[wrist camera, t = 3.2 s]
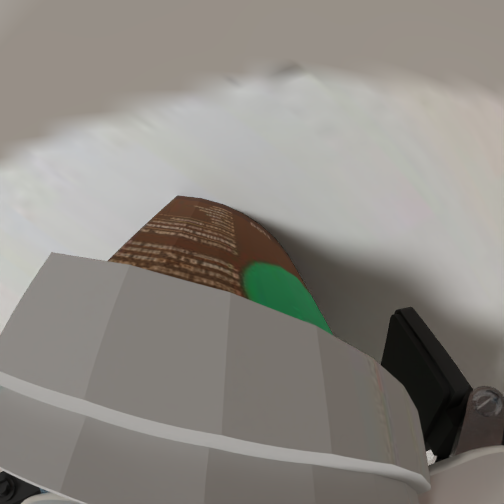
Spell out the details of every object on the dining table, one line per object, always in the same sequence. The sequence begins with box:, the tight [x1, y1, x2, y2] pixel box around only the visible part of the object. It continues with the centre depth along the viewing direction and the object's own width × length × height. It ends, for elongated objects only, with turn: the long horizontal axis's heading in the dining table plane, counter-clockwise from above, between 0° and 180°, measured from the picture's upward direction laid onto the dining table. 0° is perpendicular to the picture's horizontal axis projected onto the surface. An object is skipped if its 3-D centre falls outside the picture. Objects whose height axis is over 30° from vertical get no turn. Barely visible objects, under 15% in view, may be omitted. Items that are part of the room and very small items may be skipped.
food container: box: [0, 196, 431, 504], centre depth 8 cm, size 12×6×10 cm, turn 175°
